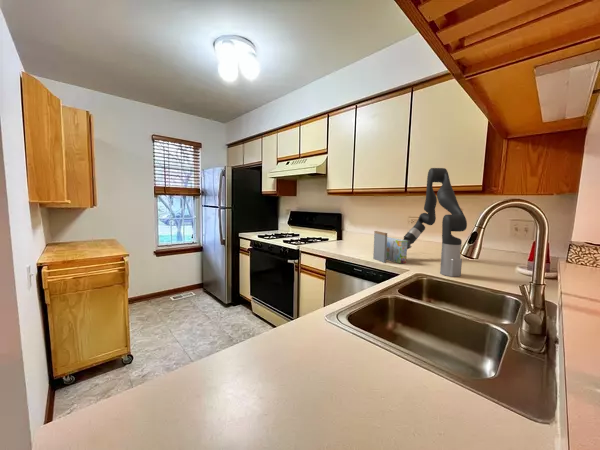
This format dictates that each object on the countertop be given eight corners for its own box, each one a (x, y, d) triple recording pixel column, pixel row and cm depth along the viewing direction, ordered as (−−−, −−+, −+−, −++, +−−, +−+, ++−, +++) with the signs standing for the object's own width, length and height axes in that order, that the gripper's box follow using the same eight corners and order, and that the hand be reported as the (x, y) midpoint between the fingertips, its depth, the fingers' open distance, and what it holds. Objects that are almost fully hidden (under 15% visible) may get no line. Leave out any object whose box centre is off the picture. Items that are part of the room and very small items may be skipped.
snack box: (406, 263, 170) (408, 240, 168) (400, 263, 168) (401, 240, 166) (384, 256, 189) (385, 236, 188) (378, 257, 187) (379, 236, 186)
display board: (386, 262, 170) (387, 233, 168) (383, 262, 170) (385, 233, 168) (375, 258, 183) (376, 230, 181) (373, 258, 182) (374, 230, 180)
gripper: (403, 230, 187) (387, 248, 185) (415, 233, 174) (399, 251, 172) (409, 237, 189) (393, 255, 187) (421, 240, 176) (405, 259, 174)
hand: (396, 253), depth 179 cm, fingers closed
